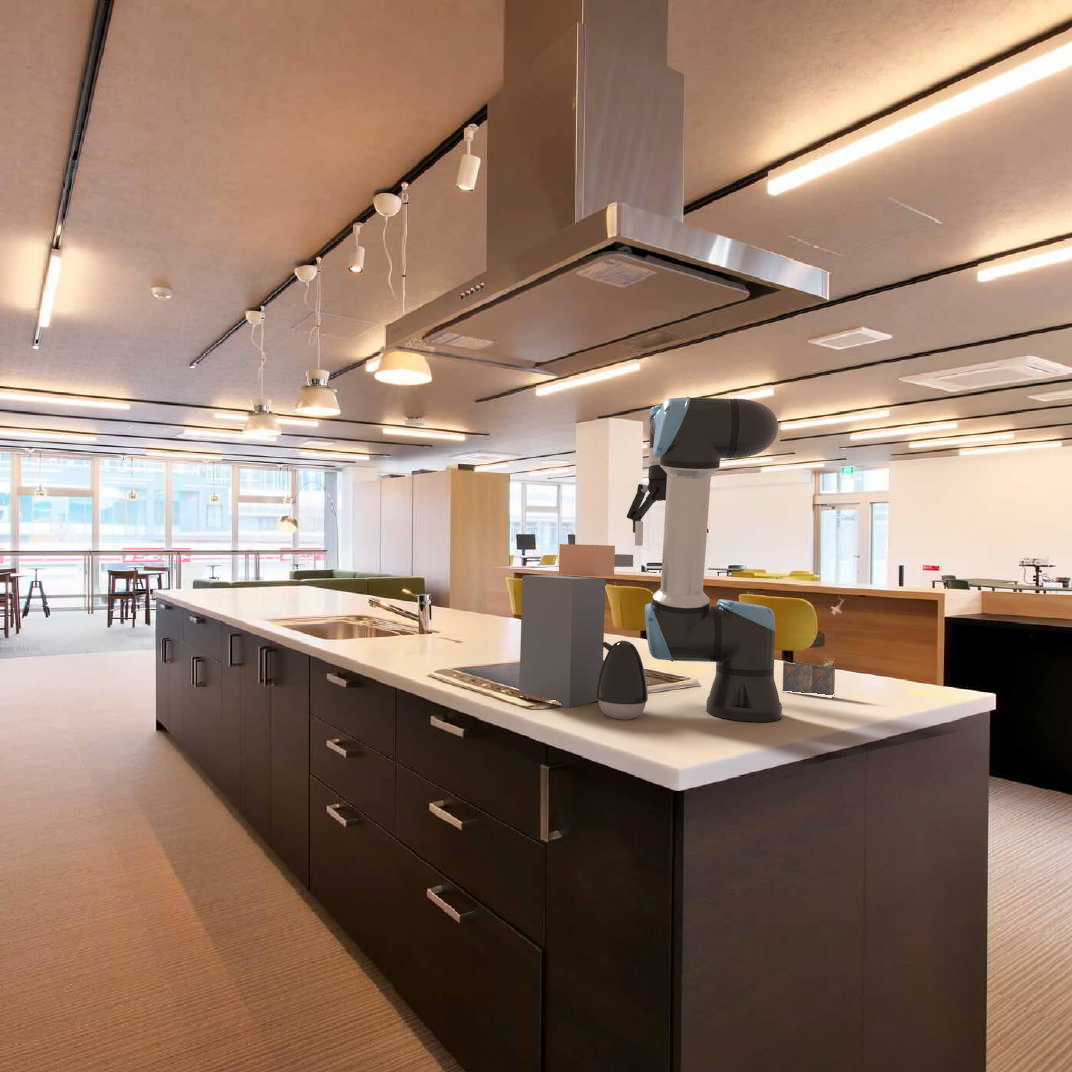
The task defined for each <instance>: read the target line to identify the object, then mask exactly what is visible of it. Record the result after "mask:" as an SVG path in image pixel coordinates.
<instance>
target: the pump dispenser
mask: <svg viewBox="0 0 1072 1072" xmlns="http://www.w3.org/2000/svg"><path fill="white" fill-rule="evenodd" d="M602 645H603V647H604V648H605V650H607V654H606V656H605V658H604V659H603V666H602V669H601V672H600V676H599V681H598V687H597V699H598V701H597V702H598V705H599V708H600V709H601V711H602V713H604V714H605V716H607V717H609V718H611V719H616V720H632V719H635V718H637V717H638V716H640V715H641V714H642V713H643V711H644V709H645V708H646V703H647V702H648V700H649V691H648V681H647V676H646V671H645V667H644V664H643V661H642V657H641V655H640V653H639V651H638V649H637V647H636V646H635V645H634V644H633V643H632V642H631V641H628V640H618V641H616V642H614V643H613V644H610V643H609V642H607V641H604V642H603V644H602Z"/></svg>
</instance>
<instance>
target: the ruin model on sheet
mask: <svg viewBox="0 0 1072 1072" xmlns="http://www.w3.org/2000/svg"><path fill="white" fill-rule="evenodd" d="M824 657H825V658H823V663H822V664H814V663H813V664H812V663H805V662H794V663H792V662H788V661H784V662H783V663H782V665H783V666H782V692H783V691H792V692H801V693H817V694H825V695H833V694H834V695H835V684H836V683H835V682H836V681H835V679H836V677H835V676H836V667H835V666H833V664H834V662H835V658H827V657H826V656H824Z"/></svg>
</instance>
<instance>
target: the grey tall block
mask: <svg viewBox="0 0 1072 1072" xmlns="http://www.w3.org/2000/svg"><path fill="white" fill-rule="evenodd" d="M605 605H606V577H597V576H579V575H561V574H558V575H557V574H555V575H554V574H552V575H551V574H548V575H543V574H542V575H538V574H537V575H522V585H521V611H520V612H521V619H520V644H519V645H520V649H519V654H520V655H519V683H518V684H519V685H518V689H519V690H518V695H519V694H529V695H533V696H537V697H544V698H547V699H550V700H556V701H558V702H559V703H561V704H562V706H561V707H563V706H565V707H564V708H568V709H570V708H575V707H578V706H583V705H587V704H591V703H594V701H595V702H597V701H596V700H598V699H597V687H598V681H599V676H600V672H601V669H602V666H603V663H604V648H605V647H603V645H602V644H603V642H605V641H604V639H605V610H606V609H605V608H606V607H605Z"/></svg>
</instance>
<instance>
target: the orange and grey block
mask: <svg viewBox="0 0 1072 1072" xmlns="http://www.w3.org/2000/svg"><path fill="white" fill-rule="evenodd" d="M558 548H559V550H558V553H559V554H558V555H559V556H558V557H559V558H558V560H559V561H558V575H561V576H578V577H614V576H615V568H618V567H619V568H625V567H626V568H633V567H634V554H623V553H622V554H621V553H620V554H617V553H616V552H615V551H616V546H615V545H603V544H602V545H601V544H576V543H575V544H572V543H571V544H568V543H559V547H558Z"/></svg>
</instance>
